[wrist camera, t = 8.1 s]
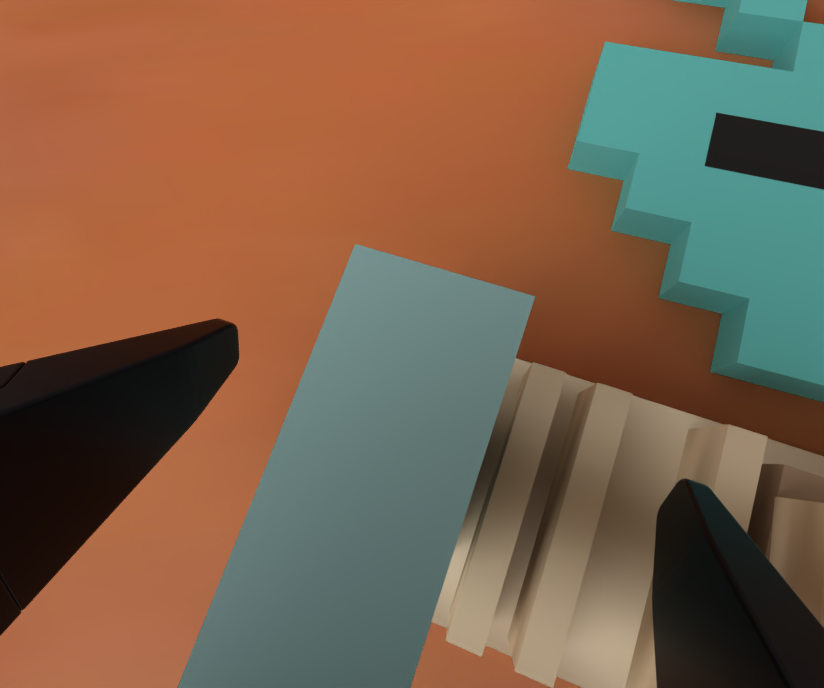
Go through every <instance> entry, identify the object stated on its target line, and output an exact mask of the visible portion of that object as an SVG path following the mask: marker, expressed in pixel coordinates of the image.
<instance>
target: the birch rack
mask: <svg viewBox="0 0 824 688" xmlns="http://www.w3.org/2000/svg"><path fill="white" fill-rule="evenodd" d="M566 373H567V372H563V371H560V370H557V369H554V368H551V367H548V366H545V365H541V364H538V363H535V362H533V363H529V362H526V361H523V360H520V359H517V358H515V361H514V365H513V368H512V371H511V374H510V377H509V380H508V383H507V386H506V390H505V393H504V396H503V399H502V402H501V405H500V408H499V411H498V415H497V418H496V421H495V424H494V427H493V430H492V433H491V437H490V440H489V443H488V446H487V449H486V452H485V455H484V458H483V462H482V465H481V468H480V471H479V474H478V477H477V480H476V483H475V487H474V490H473V493H472V496H471V499H470V502H469V505H468V509H467V512H466V515H465V518H464V521H463V524H462V527H461V530H460V534H459V537H458V540H457V543H456V546H455V549H454V552H453V555H452V559H451V562H450V565H449V568H448V571H447V574H446V577H445V581H444V584H443V587H442V590H441V593H440V596H439V599H438V602H437V606H436V609H435V612H434V615H433V618H432V621H431V622H433V623H435V624H438V625H440V626H442V627H445V628H447V634H446V641H447V642H449V643H452V644H454V645H456V646H458V647H461V648H463V649H465V650H468V651H470V652H472V653H474V654H477V655H479V656H481V657H482V654H483V651H484V647H485V645H486V646H488V647H490V648H493V649H495V650H497V651H499V652H502V653H504V654H506V655H509V656H511V657H512V660H513V665H514V669H515V672H517V673H520V674H522V675H524V676H526V677H529V678H531V679H533V680H535V681H538V682H540V683H542V684H544V685H547V686H549V687H551V688H553V686H554V683H555V679H556V676H557V677H559V678H561V679H564V680H566V681H568V682H570V683H573V684H575V685H577V686H580V687H582V688H657V683H656V667H655V650H654V633H653V616H652V582H653V566H654V550H655V534H656V519H657V513H658V510H659V508H660V506H661V504H662V503H663V501H664V500H665V499H666V497H667V496H668V494H669V493H670V492H671V490H672V489H673V487H674V486H675V485H676V483H677V482H678V481H679V480H681V479H683V478H687V479H690V480H693V481H696V482H699V483H702V484H704V485H707V486H708V487H709V488H710V489H711V490H712V491H713V492H714V494H715V495H716V496H717V497H718V498H719V500H720V501H721V502H722V503H723V505H724V506H725V507H726V508H727V510H728V511H729V512H730V513H731V514H732V516H733V517H734V518H735V519H736V521H737V522H738V523H739V524H740V525H741V527H742V528H743V529H744V530H745V532H746V533H747V531H748V527H749V522H750V517H751V513H752V508H753V503H754V499H755V494H756V489H757V485H758V480H759V475H760V471H761V466H762V464H784V465H788V466H791V467H794V468H797V469H800V470H803V471H806V472H809V473H812V474H815V475H818V476H821V477H824V456H821V455H818V454H815V453H812V452H809V451H805V450H802V449H799V448H796V447H793V446H790V445H787V444H783V443H780V442H777V441H774V440H771V439H768V436H765V435H761V434H758V433H755V432H752V431H749V430H746V429H743V428H739V427H736V426H733V425H730V424H726V425H724V424H721V423H718V422H714V421H711V420H708V419H705V418H702V417H699V416H696V415H693V414H689V413H686V412H683V411H680V410H677V409H674V408H671V407H667V406H664V405H661V404H658V403H655V402H652V401H649V400H645V399H642V398H639V397H636V396H633V393H629V392H626V391H623V390H620V389H617V388H614V387H611V386H607V385H604V384H601V383H598V382H597V383H596V384H595V383H592V382H589V381H586V380H583V379H580V378H576V377H573V376H570V375H567V374H566Z"/></svg>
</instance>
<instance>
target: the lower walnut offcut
mask: <svg viewBox="0 0 824 688" xmlns="http://www.w3.org/2000/svg"><path fill="white" fill-rule="evenodd" d="M775 497H782V498H790V499H797V500H805V501H812V502H819V503H824V477H821V476H818V475H815V474H812V473H809V472H806V471H803V470H800V469H797V468H794V467H791V466H788V465H784V464H762V466H761V471H760V475H759V480H758V485H757V489H756V494H755V499H754V503H753V508H752V513H751V517H750V522H749V527H748V531H747V534H748V535H749V537H750V538H751V539H752V540H753V541H754V543H755V544H756V545H757V546H758V548H759V549H760V550H761V551H762V552H763V554H764V555H765V556H766V557H767V559H768V560H769V558H770V547H771V536H772V524H773V513H774V502H775Z"/></svg>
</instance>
